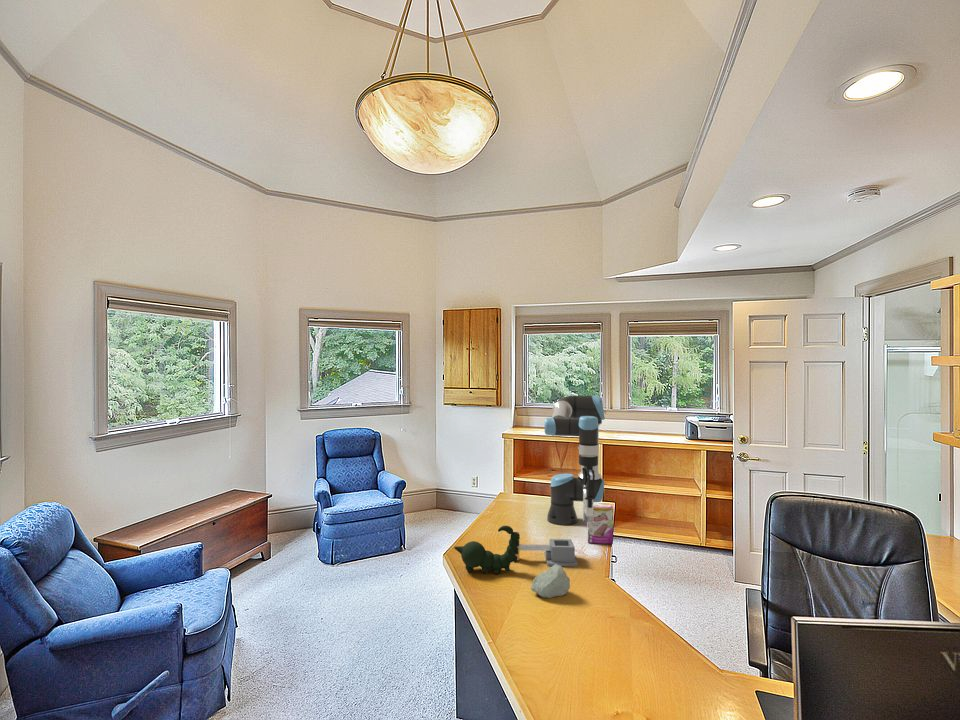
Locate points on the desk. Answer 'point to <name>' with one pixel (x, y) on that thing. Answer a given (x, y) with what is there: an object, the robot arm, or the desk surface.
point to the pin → (533, 547)
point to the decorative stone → (551, 582)
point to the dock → (561, 553)
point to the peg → (585, 518)
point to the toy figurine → (490, 554)
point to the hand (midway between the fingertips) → (588, 513)
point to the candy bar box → (601, 525)
